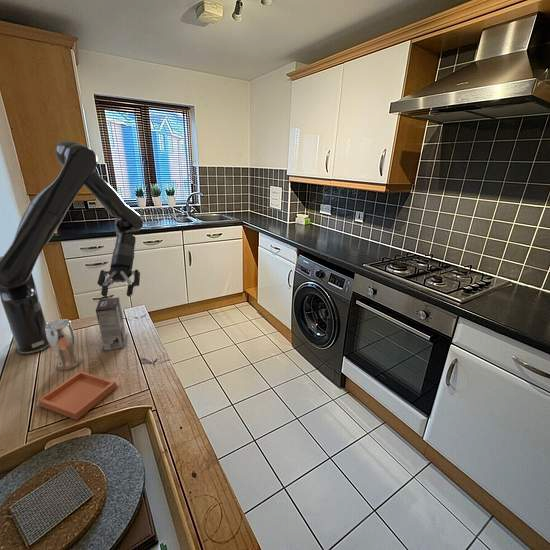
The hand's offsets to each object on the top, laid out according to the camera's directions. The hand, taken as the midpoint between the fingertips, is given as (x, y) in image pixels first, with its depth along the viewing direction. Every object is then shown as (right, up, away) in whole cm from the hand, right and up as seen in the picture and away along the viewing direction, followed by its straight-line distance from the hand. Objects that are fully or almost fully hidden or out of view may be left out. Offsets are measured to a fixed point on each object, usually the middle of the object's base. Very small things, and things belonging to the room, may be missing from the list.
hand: (116, 296), depth 108 cm
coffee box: (0, -17, -1) cm, 17 cm away
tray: (+4, -26, -26) cm, 37 cm away
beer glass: (-8, -21, -14) cm, 27 cm away
